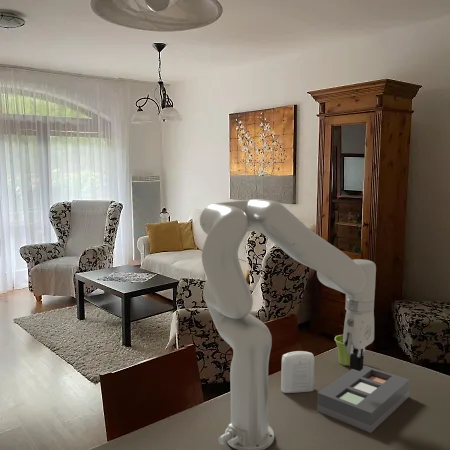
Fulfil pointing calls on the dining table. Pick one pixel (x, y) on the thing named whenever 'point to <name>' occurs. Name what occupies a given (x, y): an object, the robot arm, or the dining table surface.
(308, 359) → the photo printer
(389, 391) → the keypad
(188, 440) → the dining table surface
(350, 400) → the sage key
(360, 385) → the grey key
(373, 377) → the terracotta key
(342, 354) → the plant pot
